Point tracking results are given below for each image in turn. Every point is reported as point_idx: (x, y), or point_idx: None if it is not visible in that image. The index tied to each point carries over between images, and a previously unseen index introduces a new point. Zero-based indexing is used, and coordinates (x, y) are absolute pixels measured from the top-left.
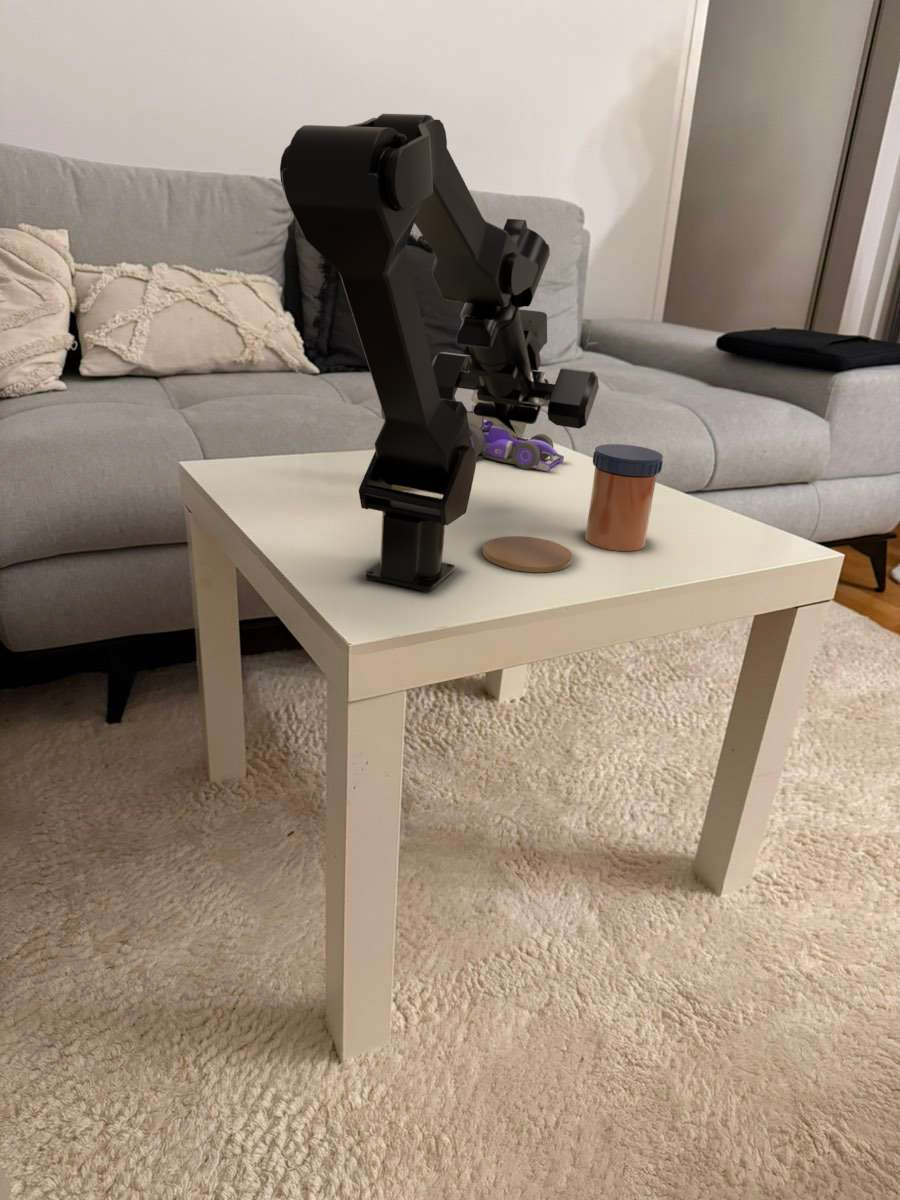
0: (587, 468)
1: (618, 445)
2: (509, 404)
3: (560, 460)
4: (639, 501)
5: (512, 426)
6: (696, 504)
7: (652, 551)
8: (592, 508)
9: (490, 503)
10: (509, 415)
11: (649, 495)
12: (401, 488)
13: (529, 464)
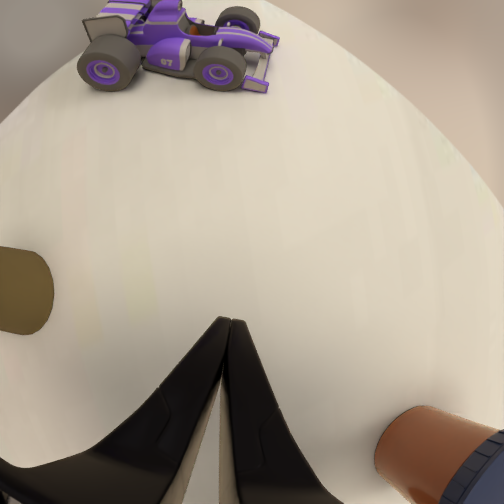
0: (319, 57)
1: (500, 463)
2: (179, 483)
3: (274, 43)
4: None
5: (208, 418)
6: (483, 192)
7: None
8: (400, 493)
9: None
10: (191, 462)
11: None
12: (31, 333)
13: (228, 86)
